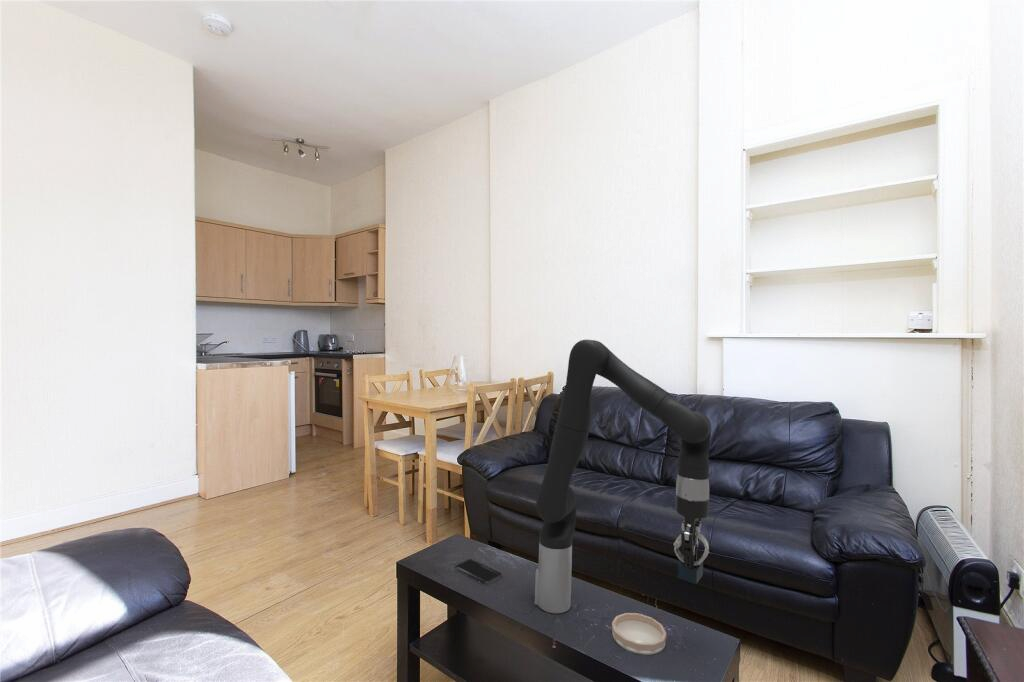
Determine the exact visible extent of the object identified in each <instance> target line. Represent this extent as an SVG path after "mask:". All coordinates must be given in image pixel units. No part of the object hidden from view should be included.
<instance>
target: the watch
mask: <svg viewBox="0 0 1024 682" xmlns="http://www.w3.org/2000/svg"><path fill="white" fill-rule="evenodd" d="M698 538H699V539H700V540H699V541H701V542H702V543H703V546H704V550H703V551H704V552H703V554H702V555H701V557H700V558H698V560H697V561H696V562H695V561H694V569H692V568H691V569H690V568H687V567H684V554H683V553H682V551H681V550H680V547H682V543H681V533H680V534H679V535H678V536H677V538H676V539H675V541H674V542H673V546H674V548H673V551H674V553H675V555H676V557H677V558H678V560H679V561H680V562H679V563H678V565H677V579H680V580H683V581H685V582H689V583H692V584H695V585H697V584H698V582H699V581H700V580H701V578H702V577H703V575H704V560H705V559H706V558H707V557H708V555H709V553H710V550H709V549H710V545H709V541H708V539H707V538H706V537H705V535H704V534H703V533H701V531H700V532H698Z"/></svg>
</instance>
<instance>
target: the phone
mask: <svg viewBox="0 0 1024 682" xmlns="http://www.w3.org/2000/svg"><path fill="white" fill-rule="evenodd" d="M455 569H457V570H459V571H461V572H463V573H465V574H467V575H468V576H470V577H472V578H474V579H476V580H477V581H476V580H475V581H476V582H478V581H480V582H481V583H483V584H489V583H490V584H492V583H494V582H496V581H498V580H499V579H498V578H500V577H502V578H503V574H502V572H500V571H498V570H496V569H494V568H492V567H489V566H488V565H486V564H484V563H481V562H480V561H477V560H476V559H473V558H469V559H466V560H464V561H461V562H460V563H457V564H455V566H454V570H455ZM457 570H456V571H457ZM459 571H458V572H459ZM461 572H460V573H461ZM463 573H462V574H463ZM468 576H467V577H468ZM470 577H469V578H470ZM472 578H471V579H472ZM474 579H473V580H474ZM497 579H498V580H497ZM500 579H501V578H500ZM495 580H496V581H495ZM493 581H494V582H493ZM491 582H492V583H491ZM481 583H480V584H481ZM483 584H482V585H483ZM490 584H489V585H490Z"/></svg>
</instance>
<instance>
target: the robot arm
mask: <svg viewBox="0 0 1024 682" xmlns="http://www.w3.org/2000/svg"><path fill="white" fill-rule="evenodd" d="M568 357H569V358H568V364H567V372H566V373H567V374H566V381H565V385H564V386H565V387H564V392H563V395H562V399H561V403H560V406H559V410H558V411H559V412H558V416H557V417H556V418H557V420H556V423H555V427H554V432H553V437H552V442H551V446H550V451H549V455H548V461H547V466H546V469H545V473H544V476H543V478H542V479H543V480H542V482H541V485H540V487H539V490H538V494H537V497H536V502H535V505H536V511H537V514H538V516H539V517H540V519H541V520H542V521H543V524H542V527H541V529H540V531H539V534H538V535H539V539H538V540H539V541H538V542H539V543H538V546H539V547H538V567H537V568H536V569H535V576H534V578H535V579H534V580H535V583H534V605H536V606H538V607H539V609H541V610H542V611H544V612H546V613H550V614H563V613H565V612H568V611H569V610H570V608H571V606H572V604H571V602H572V601H571V600H572V597H571V596H572V594H571V593H572V567H573V566H572V564H573V563H572V562H573V561H572V559H573V557H572V556H573V537H574V535H575V530H576V520H577V519H576V518H577V517H576V516H577V498H576V494H575V492H574V490H573V489H572V487H571V486H570V483H571V480H572V479H571V478H572V476H573V473H574V472H575V469H576V467H577V466H578V463H579V461H580V459H581V458H582V456H583V454H584V451H585V448H586V446H587V445H586V444H587V442H588V438H589V437H588V436H589V433H590V429H591V424H592V423H591V422H592V412H591V411H592V409H591V408H592V407H591V395H592V389H593V386H594V383H595V379H596V376H597V375H598V376H600V377H602V378H604V379H606V380H608V381H609V382H610V383H612V384H614V385H615V386H616V387H618V388H619V389H620V390H621V391H622V392H623V393H624V394H626V396H627V397H628V398H629V399H630V400H631V401H633V402H634V403H635V404H636V405H637V406H639V407H640V408H641V409H643V410H644V411H645V412H647V413H649V414H650V415H652V416H653V417H655V418H656V419H658V420H659V421H661V422H662V423H663V424H664V425H665V426H666V427H667V428H668V429H669V430H670V431H672V433H674V434H675V435H677V436H678V437H679V438H680V440H681V442H680V451H679V454H678V457H677V458H678V459H677V477H676V481H675V508H674V509H675V513H677V514H678V515H680V516H682V517H683V521H681V532H680V534H681V543H682V545H681V550H680V552H681V554H683V556H684V567H687V568H690V569H691V568H692V569H694V561H695V562H696V561H698V560H697V559H698V547H699V542H700V541H701V540H700V539H699V538H698V532H700V533H701V528H702V522H701V521H702V520H704V519H706V518H708V517H709V513H710V512H709V509H710V481H709V475H710V474H709V472H710V463H709V462H710V461H709V458H710V457H709V452H710V445H711V436H712V435H711V434H712V424H711V421H710V419H709V417H708V416H707V415H706V414H705V413H703V412H701V411H697V410H691V409H689V408H688V407H686V406H685V405H684V404H682V403H680V402H679V401H678V399H677V398H676V397H675V396H674V395H673V394H672V393H670V392H668V391H667V390H665V389H663V388H662V387H661V386H659V385H658V384H656V383H655V382H653V381H651V380H649V379H648V378H646V377H645V376H643V375H641V374H640V373H638V372H637V371H635V370H634V369H632V368H631V367H630V366H629V365H628V364H626V363H625V362H624V361H622V360H621V359H620V358H619V357H617V355H616V354H614V352H612V351H611V350H610V348H608V346H606V345H604V344H603V343H602V342H601V341H599V340H596V339H593V340H592V339H581V340H579V341H577V342H576V343H575V344H574V345H573V347H571V350H570V353H569V356H568Z"/></svg>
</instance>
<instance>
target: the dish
mask: <svg viewBox="0 0 1024 682" xmlns="http://www.w3.org/2000/svg"><path fill="white" fill-rule="evenodd" d="M611 631H612V633H611V634H612V639H613V640H614V641H615V642H616V643H617V644H618V645H619V646H620V647H621V648H623V649H624V650H626V651H629V652H631V653H634V654H638V655H647V656H648V655H656V654H659V653H661V652H662V651H663V650H664V649H665V647H666V641H667V632H666V630H665V627H664V626H663V624H662V623H660V622H659V621H657V620H656V619H654V618H653V617H650V616H648V615H645V614H642V613H639V612H638V613H637V612H635V613H634V612H624V613H622V614H618V615H616V616H615V617H614V619H613V620H612V621H611Z"/></svg>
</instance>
